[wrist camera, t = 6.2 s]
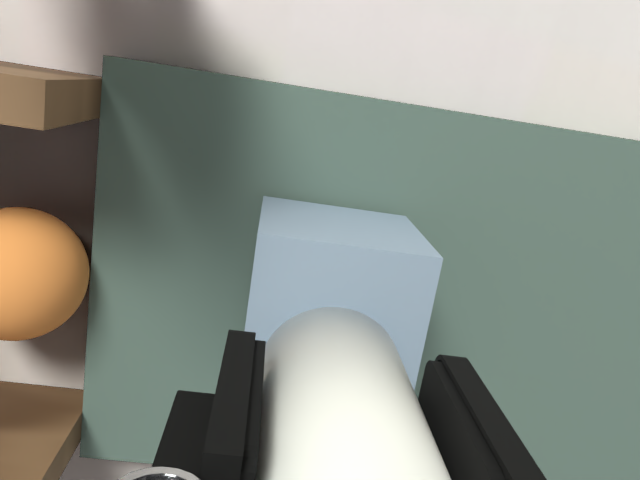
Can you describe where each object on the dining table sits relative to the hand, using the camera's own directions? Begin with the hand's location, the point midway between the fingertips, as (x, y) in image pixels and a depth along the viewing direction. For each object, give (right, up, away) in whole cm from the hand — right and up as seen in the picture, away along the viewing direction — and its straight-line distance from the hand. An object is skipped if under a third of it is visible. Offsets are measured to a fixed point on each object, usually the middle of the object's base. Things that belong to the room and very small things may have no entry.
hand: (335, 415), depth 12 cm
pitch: (+3, +1, +7) cm, 8 cm away
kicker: (0, +2, +5) cm, 6 cm away
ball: (-8, +3, +4) cm, 10 cm away
